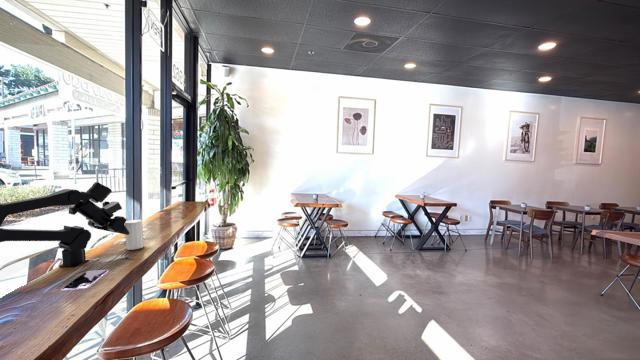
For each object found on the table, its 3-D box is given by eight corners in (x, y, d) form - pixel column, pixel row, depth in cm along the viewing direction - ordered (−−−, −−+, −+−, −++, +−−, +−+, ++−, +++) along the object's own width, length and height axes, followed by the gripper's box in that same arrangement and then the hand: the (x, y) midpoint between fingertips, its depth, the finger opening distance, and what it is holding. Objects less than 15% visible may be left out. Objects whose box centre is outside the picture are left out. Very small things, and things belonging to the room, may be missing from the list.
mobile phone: (110, 268, 105) (87, 286, 90) (110, 271, 105) (87, 289, 91) (85, 270, 103) (58, 289, 89) (86, 273, 103) (58, 292, 89)
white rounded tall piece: (132, 250, 127) (130, 223, 126) (123, 248, 130) (121, 222, 129) (146, 246, 133) (145, 220, 132) (137, 244, 136) (136, 219, 135)
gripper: (120, 197, 116) (148, 219, 127) (94, 194, 124) (122, 215, 135) (99, 220, 110) (130, 241, 120) (73, 216, 118) (105, 236, 129)
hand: (122, 232), depth 126 cm, fingers open, 9 cm apart
